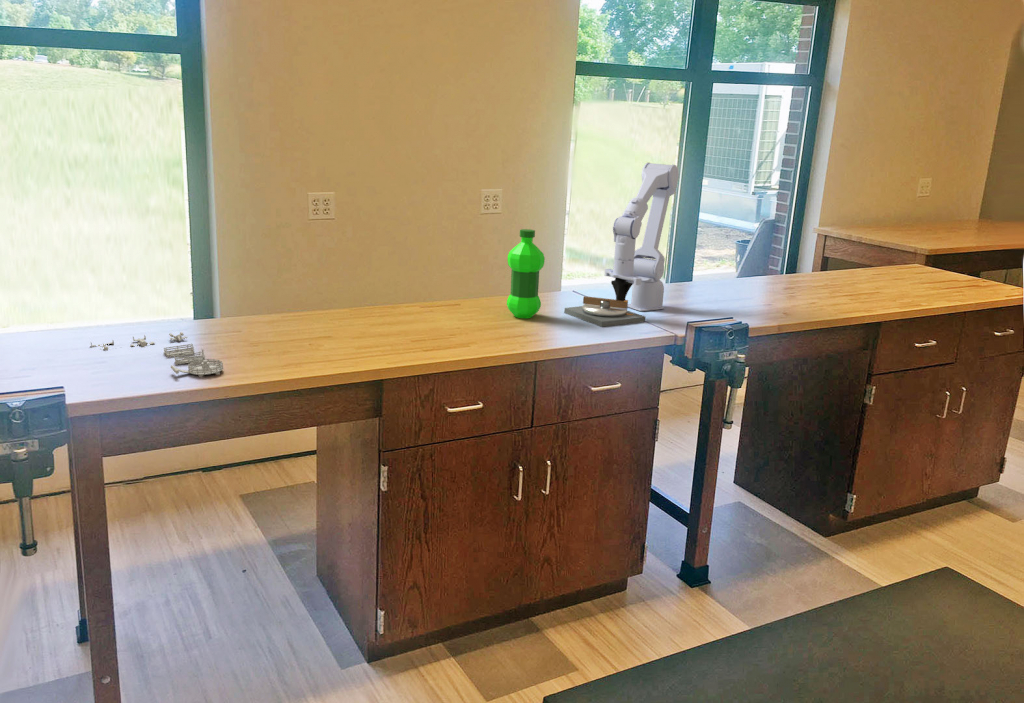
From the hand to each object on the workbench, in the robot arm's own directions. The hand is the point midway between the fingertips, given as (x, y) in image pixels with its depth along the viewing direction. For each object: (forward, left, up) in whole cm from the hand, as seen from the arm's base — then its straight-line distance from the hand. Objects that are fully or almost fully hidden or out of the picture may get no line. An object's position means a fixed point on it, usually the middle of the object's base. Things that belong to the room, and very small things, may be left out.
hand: (620, 304), depth 258 cm
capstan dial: (+4, -2, -2) cm, 5 cm away
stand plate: (+4, -2, -4) cm, 6 cm away
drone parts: (+128, -9, -5) cm, 129 cm away
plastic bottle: (+26, -12, -4) cm, 29 cm away
